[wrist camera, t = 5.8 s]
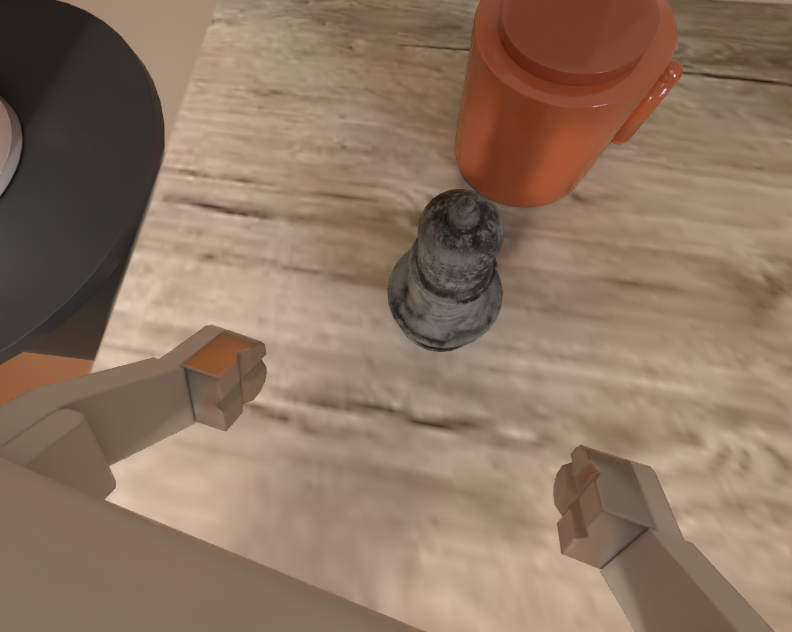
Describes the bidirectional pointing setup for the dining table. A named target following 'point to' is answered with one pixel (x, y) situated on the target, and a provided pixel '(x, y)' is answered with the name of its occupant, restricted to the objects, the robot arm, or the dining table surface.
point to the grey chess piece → (450, 273)
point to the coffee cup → (558, 90)
